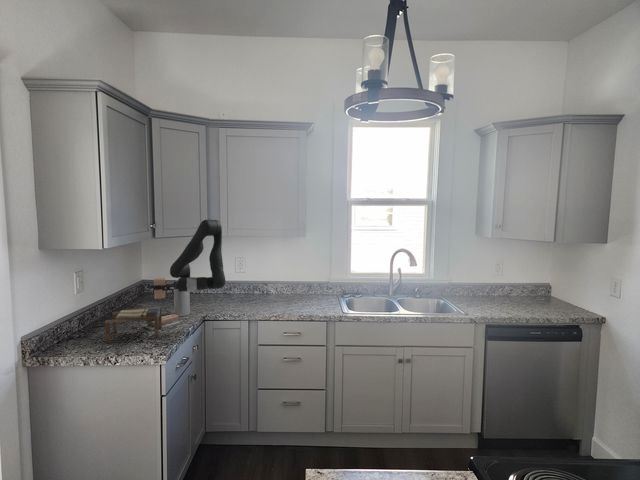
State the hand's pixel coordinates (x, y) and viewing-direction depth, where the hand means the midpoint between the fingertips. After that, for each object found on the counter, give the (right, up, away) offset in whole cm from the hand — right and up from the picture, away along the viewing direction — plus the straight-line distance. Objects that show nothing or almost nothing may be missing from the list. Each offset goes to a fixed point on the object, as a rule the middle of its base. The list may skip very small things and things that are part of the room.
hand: (154, 286), depth 195 cm
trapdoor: (-7, -17, -2) cm, 18 cm away
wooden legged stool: (-10, -26, -2) cm, 27 cm away
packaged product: (-3, -25, +17) cm, 30 cm away
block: (+3, -6, +1) cm, 7 cm away
